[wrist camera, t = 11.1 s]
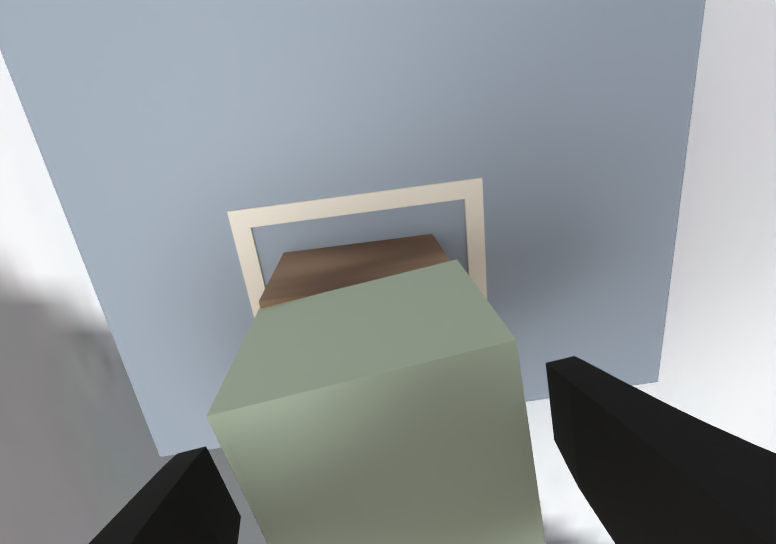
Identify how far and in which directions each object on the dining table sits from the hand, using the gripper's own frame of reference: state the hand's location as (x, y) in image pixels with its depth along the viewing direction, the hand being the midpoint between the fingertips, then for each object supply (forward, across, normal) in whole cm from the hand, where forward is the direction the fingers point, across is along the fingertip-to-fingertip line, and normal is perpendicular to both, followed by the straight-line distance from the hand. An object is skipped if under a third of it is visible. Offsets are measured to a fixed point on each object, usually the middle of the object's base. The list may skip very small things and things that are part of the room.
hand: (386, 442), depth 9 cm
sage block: (+3, 0, 0) cm, 3 cm away
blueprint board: (+8, -1, -4) cm, 9 cm away
